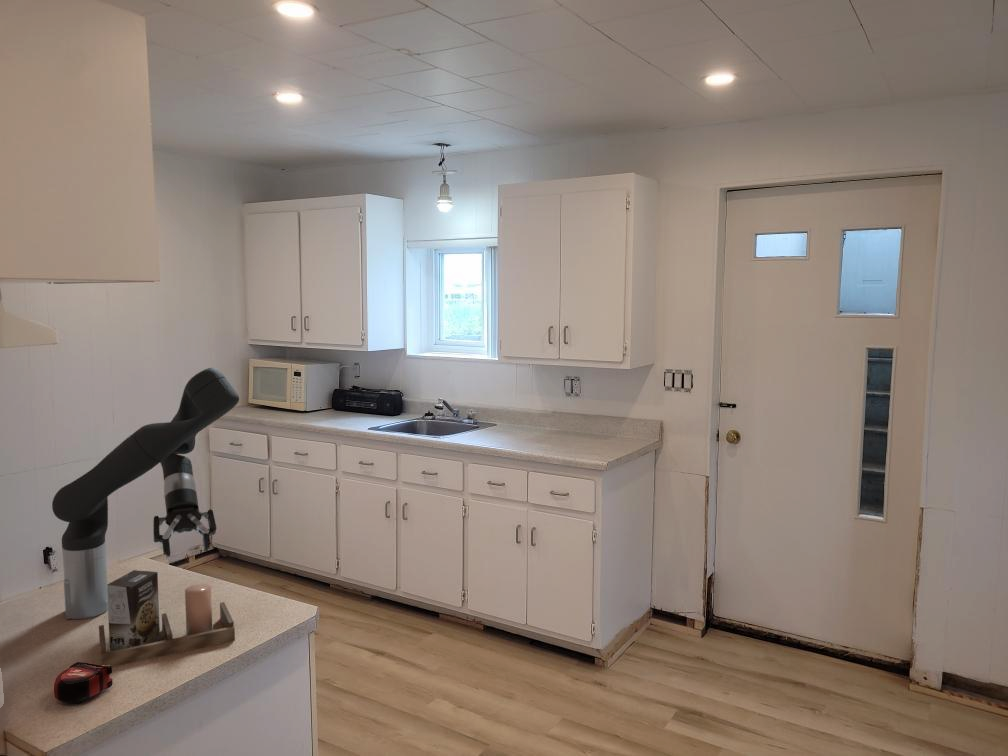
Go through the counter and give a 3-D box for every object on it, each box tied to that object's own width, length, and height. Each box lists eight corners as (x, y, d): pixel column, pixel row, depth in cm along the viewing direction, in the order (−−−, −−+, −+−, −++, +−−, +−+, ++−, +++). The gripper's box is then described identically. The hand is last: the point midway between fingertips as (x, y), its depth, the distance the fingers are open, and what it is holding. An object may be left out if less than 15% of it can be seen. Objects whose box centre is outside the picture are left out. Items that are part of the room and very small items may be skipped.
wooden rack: (101, 668, 158) (101, 650, 157) (99, 642, 169) (98, 625, 169) (234, 640, 171) (234, 623, 171) (224, 617, 183) (224, 602, 182)
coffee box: (134, 657, 163) (131, 587, 161) (108, 654, 164) (105, 584, 162) (161, 638, 172) (158, 571, 170) (136, 635, 173) (133, 568, 171)
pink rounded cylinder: (188, 641, 170) (186, 595, 169) (185, 631, 175) (183, 586, 174) (214, 636, 173) (212, 591, 172) (210, 626, 178) (208, 582, 177)
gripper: (150, 490, 184) (156, 550, 176) (211, 484, 191) (220, 541, 183) (149, 505, 189) (155, 564, 181) (209, 498, 196) (217, 554, 188)
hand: (187, 552), depth 182 cm, fingers open, 8 cm apart
